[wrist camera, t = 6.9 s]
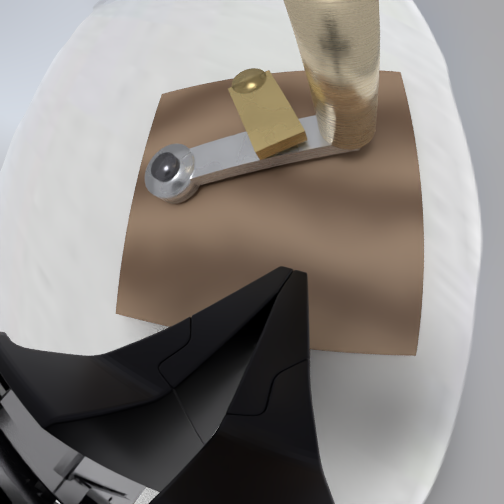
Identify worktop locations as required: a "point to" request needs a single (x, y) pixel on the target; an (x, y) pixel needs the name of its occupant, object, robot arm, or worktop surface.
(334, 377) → the worktop surface
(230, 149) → the beige lever tool
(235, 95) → the plate
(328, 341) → the walnut board
